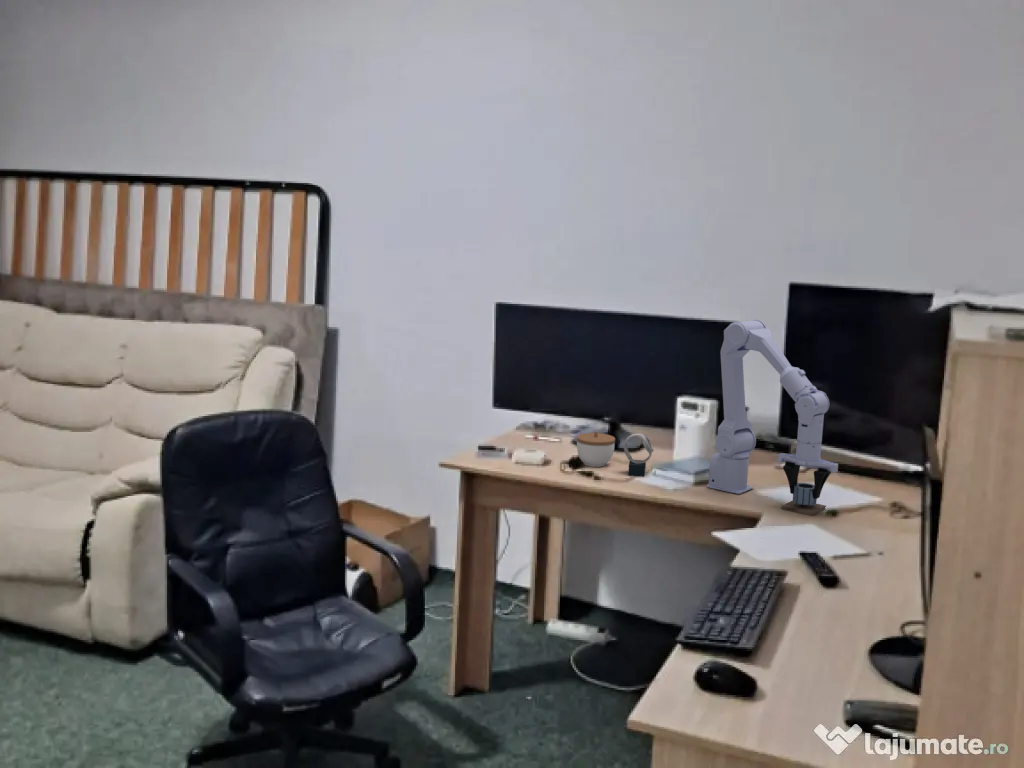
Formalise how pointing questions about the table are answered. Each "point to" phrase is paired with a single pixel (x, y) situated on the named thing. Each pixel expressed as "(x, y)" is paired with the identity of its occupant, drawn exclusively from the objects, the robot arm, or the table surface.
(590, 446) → the lidded jar
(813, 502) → the collar
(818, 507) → the shaft base
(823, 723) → the table surface
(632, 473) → the watch
